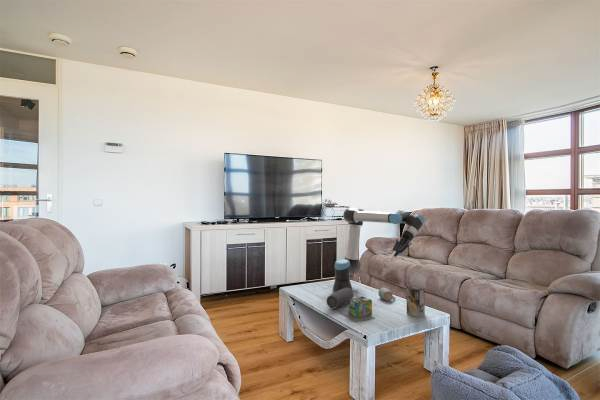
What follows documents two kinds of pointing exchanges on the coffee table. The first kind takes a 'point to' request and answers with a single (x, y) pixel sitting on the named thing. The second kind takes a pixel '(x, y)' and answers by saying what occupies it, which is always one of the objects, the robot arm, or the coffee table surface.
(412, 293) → the coffee box
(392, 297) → the ceramic mug
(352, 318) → the mat
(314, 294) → the coffee table surface
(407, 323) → the coffee table surface
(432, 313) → the coffee table surface
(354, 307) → the chalk box
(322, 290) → the coffee table surface
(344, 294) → the bluetooth speaker
